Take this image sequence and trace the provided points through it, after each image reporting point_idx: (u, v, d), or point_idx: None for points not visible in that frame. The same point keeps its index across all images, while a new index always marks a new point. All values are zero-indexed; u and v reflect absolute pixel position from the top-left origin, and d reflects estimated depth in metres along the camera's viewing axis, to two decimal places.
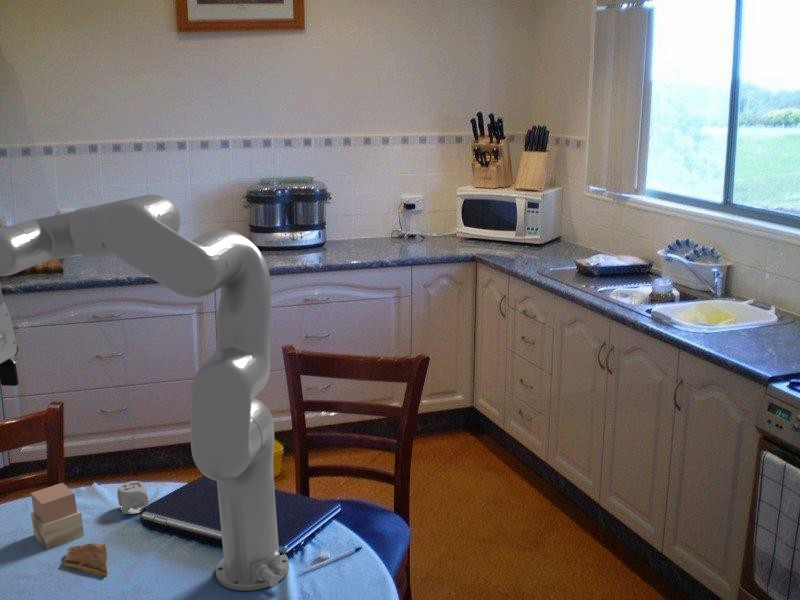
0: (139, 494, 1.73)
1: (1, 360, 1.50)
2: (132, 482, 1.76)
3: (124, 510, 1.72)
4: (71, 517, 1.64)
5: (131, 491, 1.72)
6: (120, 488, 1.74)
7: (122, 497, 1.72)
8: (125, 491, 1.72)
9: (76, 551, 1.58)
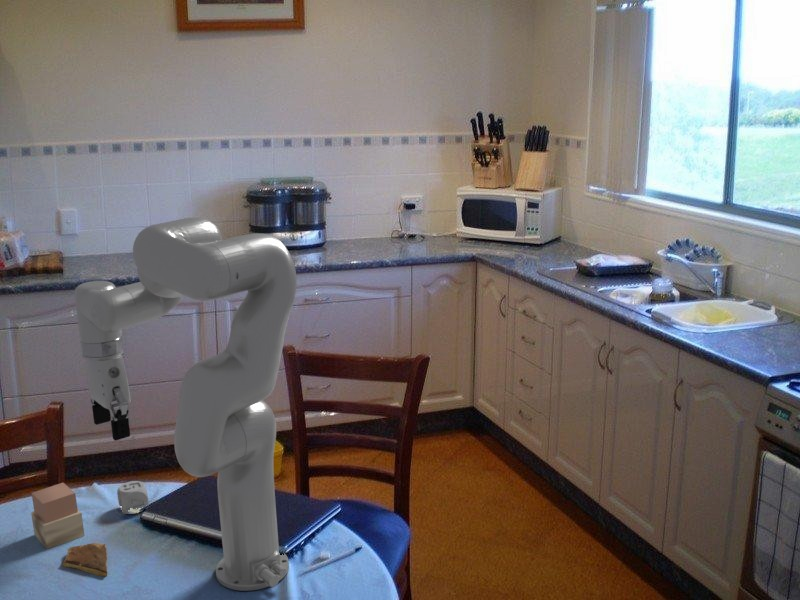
0: (139, 494, 1.73)
1: None
2: (132, 482, 1.76)
3: (124, 510, 1.72)
4: (71, 517, 1.64)
5: (131, 491, 1.72)
6: (120, 488, 1.74)
7: (122, 497, 1.72)
8: (125, 491, 1.72)
9: (76, 551, 1.58)
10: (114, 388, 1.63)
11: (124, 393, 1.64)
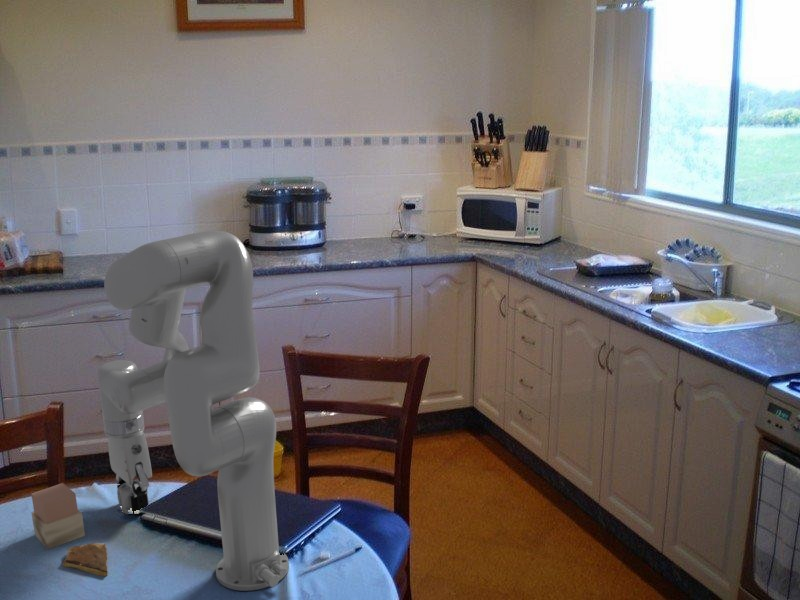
0: None
1: None
2: None
3: (124, 510, 1.72)
4: (72, 517, 1.64)
5: None
6: (120, 488, 1.74)
7: (122, 497, 1.72)
8: (125, 491, 1.72)
9: (76, 551, 1.58)
10: (136, 467, 1.69)
11: (146, 468, 1.70)
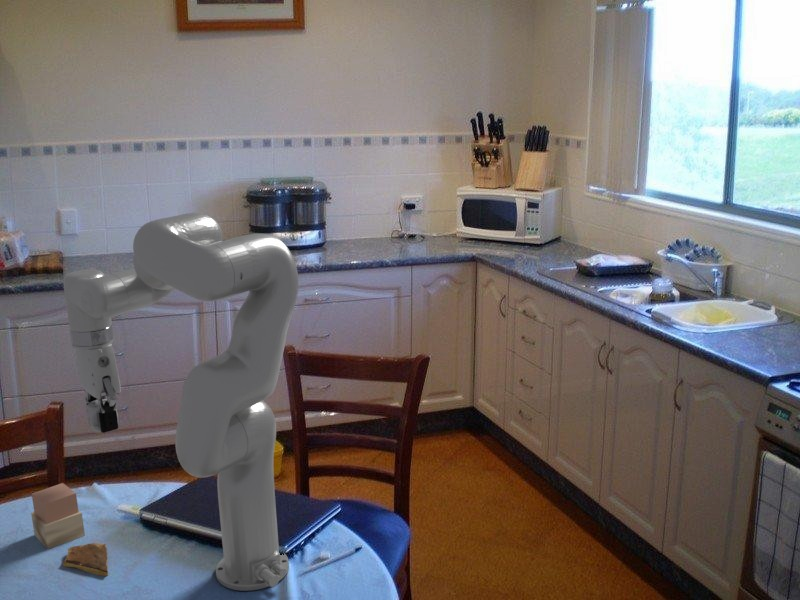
0: None
1: None
2: (102, 399, 1.69)
3: (92, 427, 1.65)
4: (72, 517, 1.64)
5: None
6: (89, 404, 1.66)
7: (90, 413, 1.64)
8: (93, 407, 1.65)
9: (76, 551, 1.58)
10: (104, 380, 1.61)
11: (114, 383, 1.63)
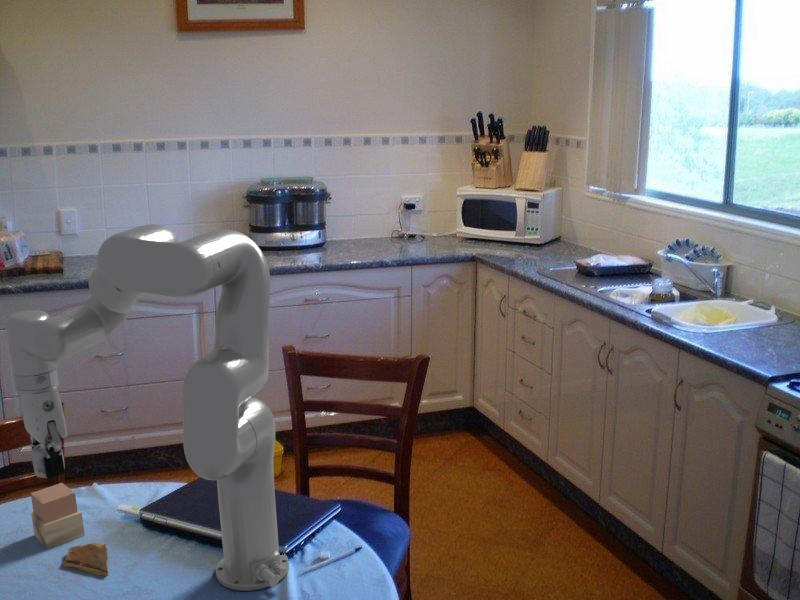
0: None
1: None
2: None
3: (37, 472, 1.60)
4: (72, 517, 1.64)
5: None
6: (33, 449, 1.61)
7: (34, 458, 1.59)
8: (38, 452, 1.60)
9: (76, 551, 1.58)
10: (49, 425, 1.56)
11: (60, 427, 1.57)
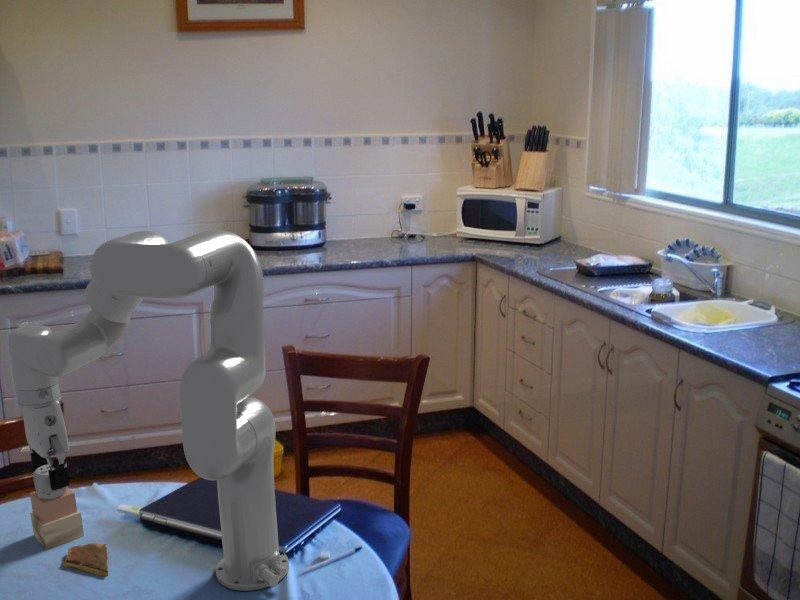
0: None
1: None
2: None
3: (40, 494, 1.60)
4: (71, 517, 1.64)
5: (48, 474, 1.61)
6: (36, 471, 1.62)
7: (38, 480, 1.60)
8: (41, 474, 1.61)
9: (77, 551, 1.58)
10: (51, 437, 1.57)
11: (62, 441, 1.58)
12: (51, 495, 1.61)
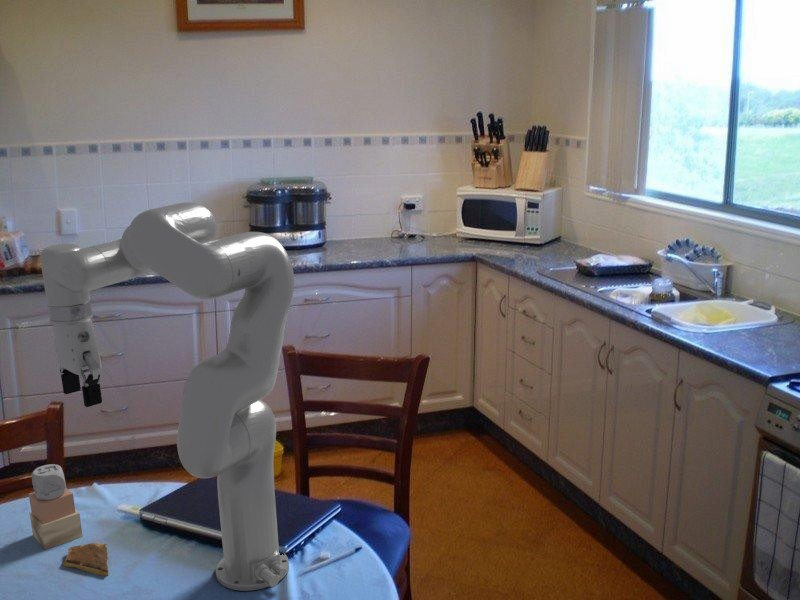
0: (55, 477, 1.61)
1: None
2: (48, 465, 1.64)
3: (39, 495, 1.60)
4: (69, 517, 1.63)
5: (46, 474, 1.60)
6: (34, 472, 1.62)
7: (36, 481, 1.60)
8: (39, 475, 1.60)
9: (77, 551, 1.58)
10: (84, 353, 1.59)
11: (95, 358, 1.61)
12: (49, 496, 1.61)
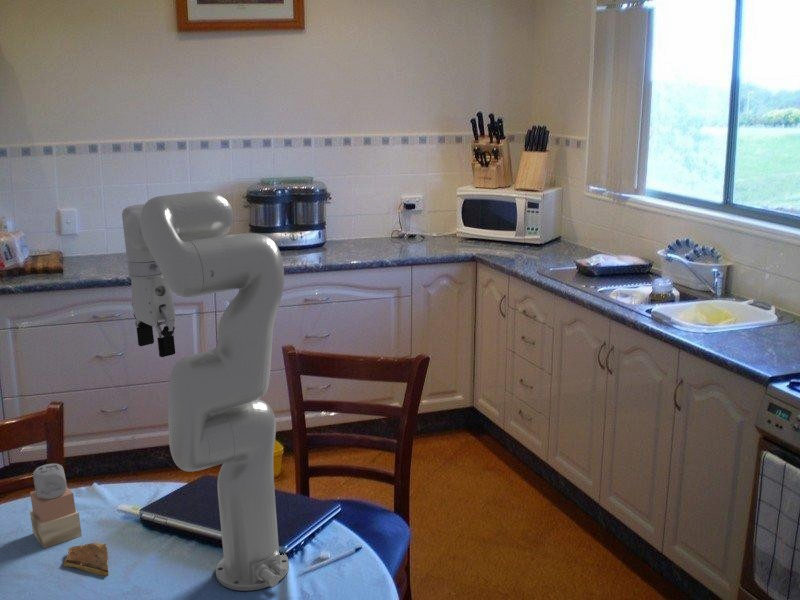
0: (55, 477, 1.61)
1: None
2: (50, 464, 1.65)
3: (39, 494, 1.61)
4: (69, 517, 1.64)
5: (47, 473, 1.61)
6: (36, 471, 1.62)
7: (37, 480, 1.60)
8: (40, 474, 1.61)
9: (77, 551, 1.58)
10: (160, 306, 1.70)
11: (170, 311, 1.72)
12: (50, 495, 1.62)
